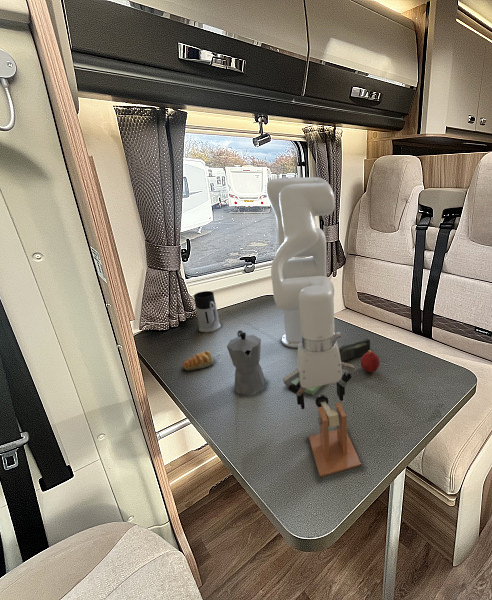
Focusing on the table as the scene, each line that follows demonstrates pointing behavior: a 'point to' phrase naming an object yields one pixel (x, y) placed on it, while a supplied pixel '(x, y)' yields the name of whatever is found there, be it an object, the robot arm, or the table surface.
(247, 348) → the coffeepot
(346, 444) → the switch bracket
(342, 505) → the table surface
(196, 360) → the pastry
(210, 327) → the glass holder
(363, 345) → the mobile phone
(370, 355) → the onion
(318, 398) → the switch lever
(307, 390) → the control block
